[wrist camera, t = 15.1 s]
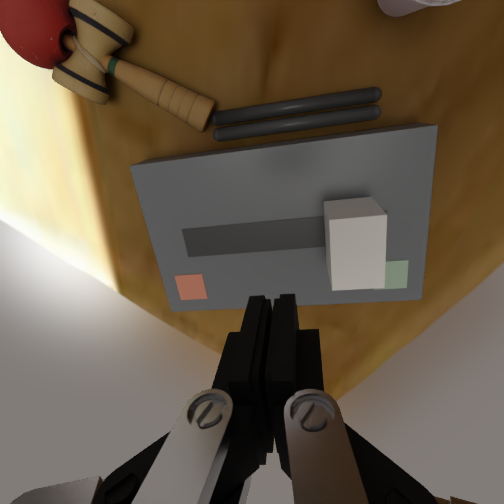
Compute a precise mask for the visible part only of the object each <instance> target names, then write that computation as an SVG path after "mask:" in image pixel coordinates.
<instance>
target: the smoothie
mask: <svg viewBox="0 0 504 504" xmlns="http://www.w3.org/2000/svg"><path fill="white" fill-rule="evenodd" d="M458 1H460V0H377V2H378V5H379V7H380V9H381V10H382V11H383V12H384V13H385V14H387V15H389V16H392V17H401V16H404V15H407V14H409V13H412V12H415V11H417V10H420V9H423V8H425V7H428V6H442V5H449V4H452V3H455V2H458Z"/></svg>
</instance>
